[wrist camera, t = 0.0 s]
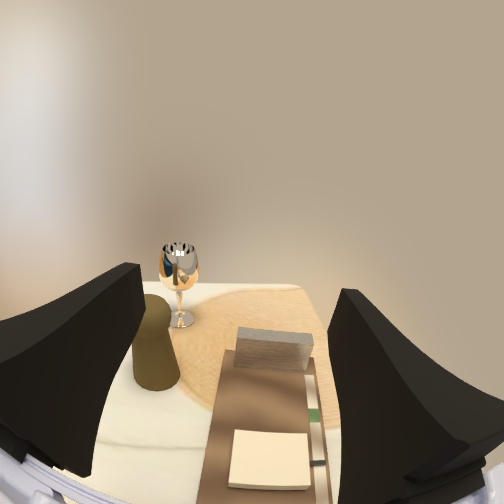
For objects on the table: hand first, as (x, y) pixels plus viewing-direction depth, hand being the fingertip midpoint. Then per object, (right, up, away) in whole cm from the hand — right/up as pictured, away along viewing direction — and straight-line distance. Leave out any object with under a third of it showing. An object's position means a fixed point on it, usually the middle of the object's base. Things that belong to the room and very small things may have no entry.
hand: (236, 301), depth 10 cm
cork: (-11, -14, +21) cm, 28 cm away
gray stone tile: (+3, -14, +24) cm, 28 cm away
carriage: (+3, -18, +11) cm, 21 cm away
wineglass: (-11, -9, +32) cm, 35 cm away
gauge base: (+2, -18, +14) cm, 23 cm away
